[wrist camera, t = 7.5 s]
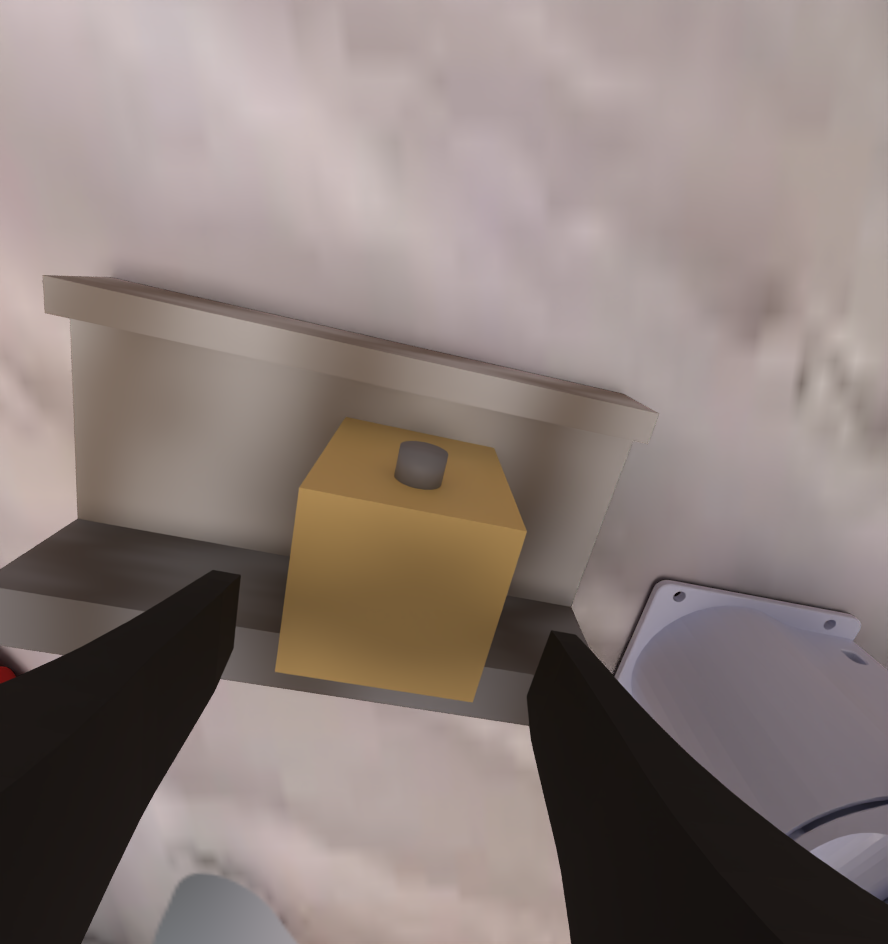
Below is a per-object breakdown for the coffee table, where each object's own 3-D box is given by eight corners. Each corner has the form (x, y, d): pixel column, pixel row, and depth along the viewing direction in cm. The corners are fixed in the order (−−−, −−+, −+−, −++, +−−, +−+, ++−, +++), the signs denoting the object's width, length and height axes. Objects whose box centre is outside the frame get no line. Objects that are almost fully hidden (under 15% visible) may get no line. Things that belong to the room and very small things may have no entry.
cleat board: (623, 394, 18) (711, 442, 12) (544, 616, 21) (584, 734, 16) (110, 277, 16) (-62, 272, 10) (113, 540, 19) (-16, 643, 14)
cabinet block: (500, 425, 16) (536, 498, 10) (459, 573, 18) (472, 702, 12) (349, 393, 16) (303, 452, 10) (324, 549, 18) (274, 672, 12)
